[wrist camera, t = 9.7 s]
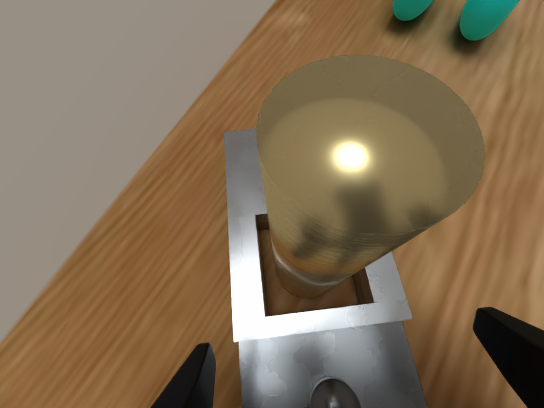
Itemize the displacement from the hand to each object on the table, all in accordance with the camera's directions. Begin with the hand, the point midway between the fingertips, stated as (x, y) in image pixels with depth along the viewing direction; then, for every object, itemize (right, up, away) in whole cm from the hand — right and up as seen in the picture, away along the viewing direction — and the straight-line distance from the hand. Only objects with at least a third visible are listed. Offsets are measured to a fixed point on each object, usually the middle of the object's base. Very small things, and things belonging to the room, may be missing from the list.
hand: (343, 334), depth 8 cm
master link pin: (0, 0, +9) cm, 9 cm away
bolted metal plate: (0, -2, +8) cm, 8 cm away
